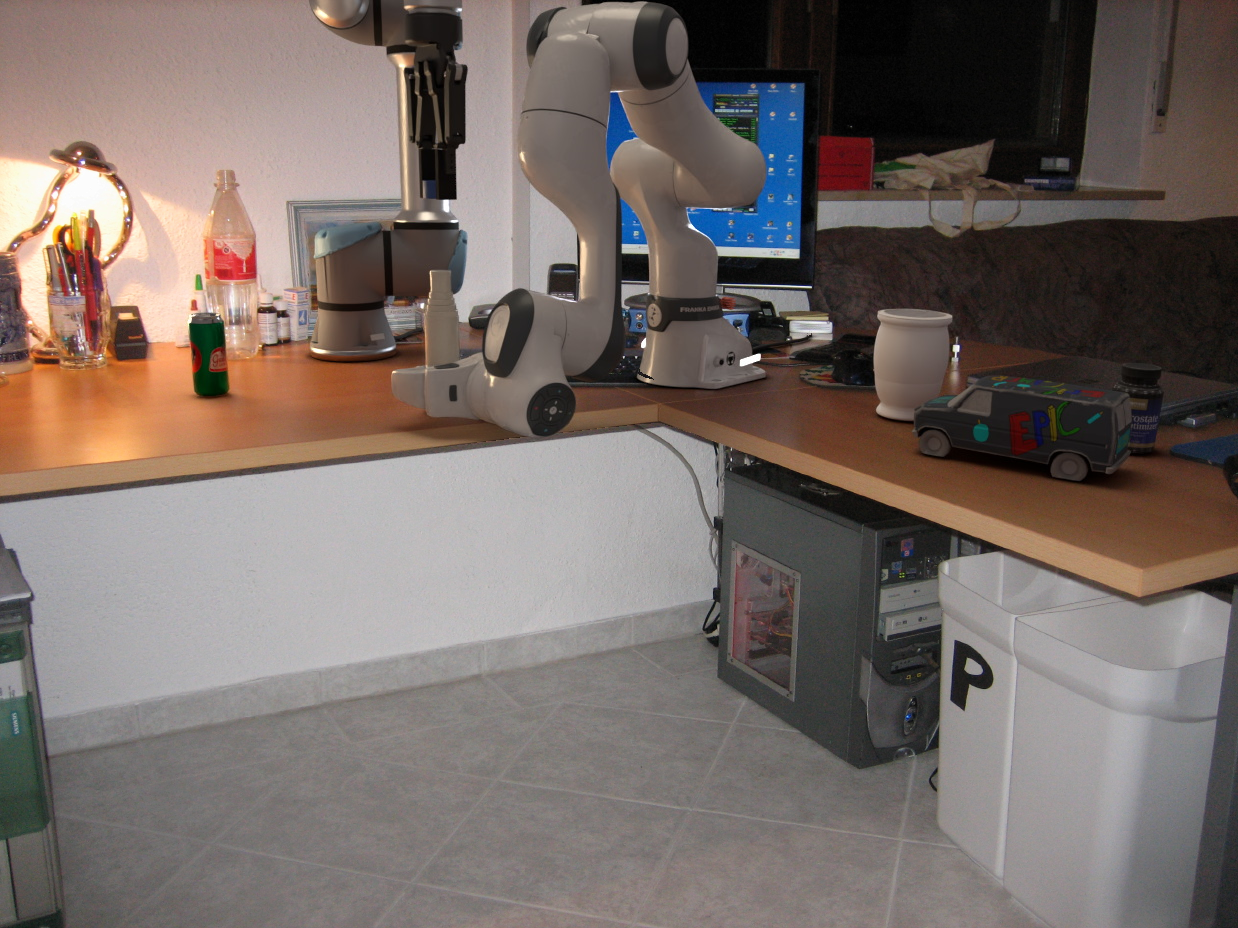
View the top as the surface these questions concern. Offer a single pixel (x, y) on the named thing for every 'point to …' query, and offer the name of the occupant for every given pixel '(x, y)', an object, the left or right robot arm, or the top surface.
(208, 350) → the soda can
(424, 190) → the cap
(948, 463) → the top surface
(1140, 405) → the pill bottle
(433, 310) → the bottle
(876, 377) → the jar
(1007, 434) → the toy van
